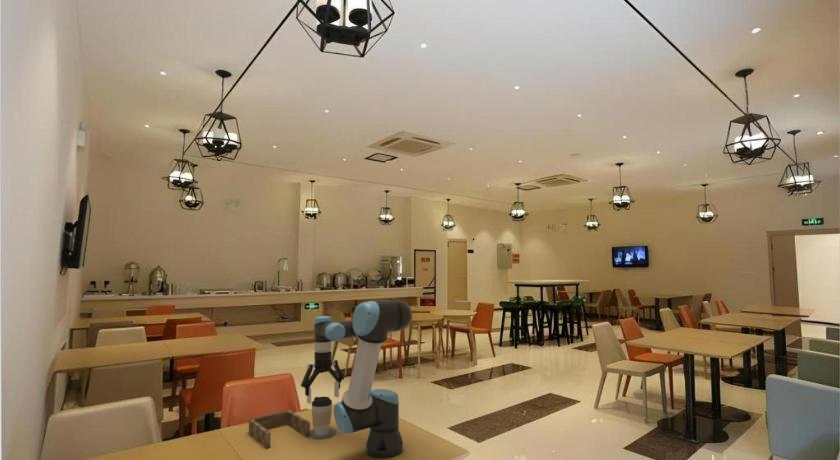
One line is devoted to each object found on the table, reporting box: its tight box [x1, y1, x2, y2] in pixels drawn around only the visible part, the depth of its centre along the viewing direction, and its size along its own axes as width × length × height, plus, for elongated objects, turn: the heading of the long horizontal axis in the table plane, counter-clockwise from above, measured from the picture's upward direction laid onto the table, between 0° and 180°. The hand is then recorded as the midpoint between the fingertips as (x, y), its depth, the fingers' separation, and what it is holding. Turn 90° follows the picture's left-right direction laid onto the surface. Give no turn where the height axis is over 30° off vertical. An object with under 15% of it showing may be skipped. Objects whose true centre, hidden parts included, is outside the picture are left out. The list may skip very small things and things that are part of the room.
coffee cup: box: [311, 396, 333, 436], centre depth 190 cm, size 9×9×15 cm
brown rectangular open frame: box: [248, 409, 311, 450], centre depth 189 cm, size 22×19×6 cm
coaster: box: [308, 427, 337, 440], centre depth 190 cm, size 12×12×1 cm
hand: (323, 399), depth 190 cm, fingers open, 13 cm apart
